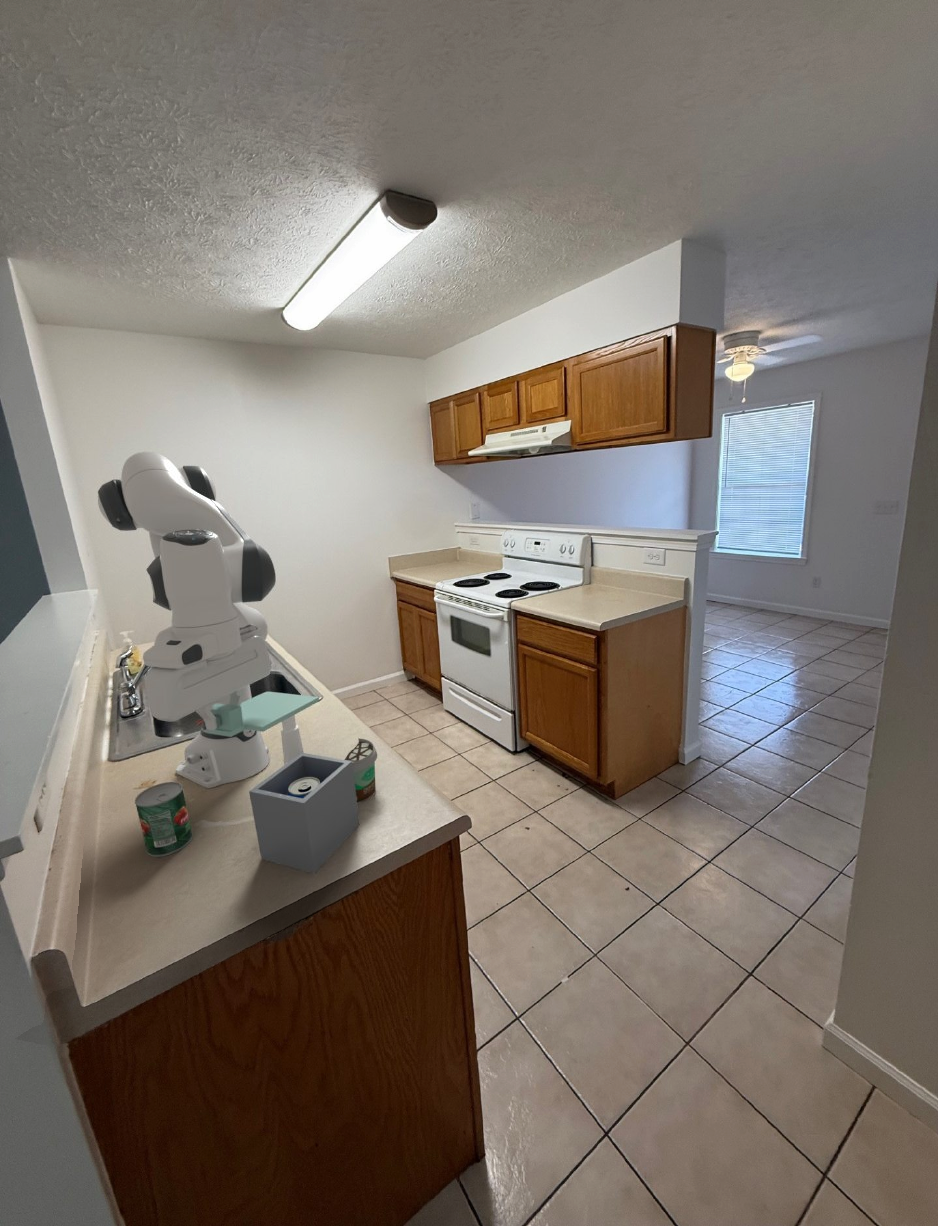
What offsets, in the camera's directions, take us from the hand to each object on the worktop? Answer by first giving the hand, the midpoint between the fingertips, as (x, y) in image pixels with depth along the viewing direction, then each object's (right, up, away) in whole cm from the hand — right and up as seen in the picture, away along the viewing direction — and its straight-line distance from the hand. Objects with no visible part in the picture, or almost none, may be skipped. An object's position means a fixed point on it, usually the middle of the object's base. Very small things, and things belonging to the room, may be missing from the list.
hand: (224, 722), depth 80 cm
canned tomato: (-20, -28, +19) cm, 39 cm away
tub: (+9, -26, +17) cm, 32 cm away
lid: (+3, 0, +7) cm, 7 cm away
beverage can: (+9, -27, +17) cm, 33 cm away
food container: (+16, -23, +32) cm, 42 cm away
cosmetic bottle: (+1, -23, +32) cm, 40 cm away
